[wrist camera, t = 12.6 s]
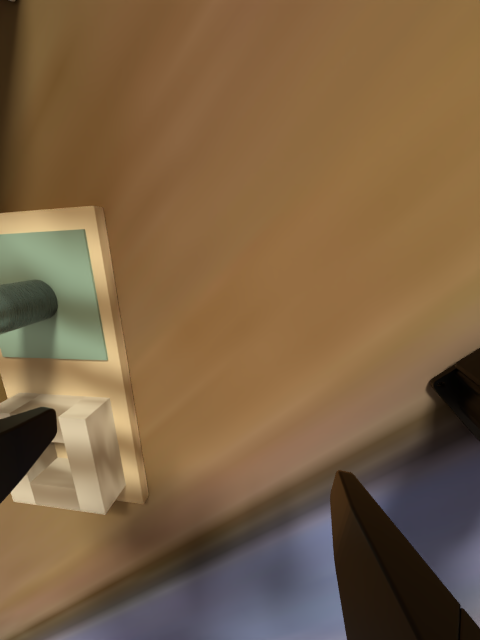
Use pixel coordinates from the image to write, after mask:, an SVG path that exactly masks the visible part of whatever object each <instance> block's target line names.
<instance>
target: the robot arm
mask: <svg viewBox="0 0 480 640" xmlns="http://www.w3.org/2000/svg"><path fill="white" fill-rule="evenodd" d="M440 382H443V383H442V385H440V386H437V385H438V383H440ZM431 386H432V387H433V388H434V390H435V391H436V392H437V393H438V394H439V395H440V396H441V398H442V399H443V400H444V401H445V402H446V403H447V404H448V406H449V407H450V408H451V409H452V410H453V411H454V412H455V414H456V415H457V416H458V417H459V418H460V419H461V420H462V422H463V423H464V424H465V425H466V426H467V427H468V428H469V430H470V431H471V432H472V433H473V434H474V435H475V436H476V438H477V439H478V440H479V441H480V348H479V349H478V350H476V351H474V352H473V353H471V354H470V355H468V356H466V357H465V358H463V359H461V360H460V361H458V362H457V363H456V364H455V365H453V366H452V367H450V368H449V369H447V370H445V371H444V372H442V373H440V374H439V375H437V376H435V377H434V378H433V379H432V380H431ZM56 434H57V416H56V411H55V409H53V408H48V407H38V408H35V409H32V410H28V411H25V412H22V413H19V414H16V415H12V416H9V417H6V418H3V419H0V503H1V502H2V501H3V500H4V499H5V498H6V497H7V496H8V495H9V494H10V492H11V491H12V490H13V489H14V488H15V487H16V486H17V485H18V484H19V482H20V481H21V480H22V479H23V478H24V476H25V475H26V474H27V473H28V471H29V470H30V469H31V467H32V466H33V465H34V464H35V462H36V461H37V460H38V458H39V457H40V456H41V455H42V453H43V452H44V451H45V450H46V448H47V447H48V446H49V444H50V443H51V442H52V441H53V439H54V438H55V436H56ZM330 504H331V519H332V535H333V550H334V561H335V569H336V575H337V581H338V587H339V593H340V600H341V606H342V612H343V618H344V624H345V630H346V636H347V640H480V628H479V627H478V626H477V624H476V623H475V622H474V621H473V620H472V618H471V617H470V616H469V615H468V613H467V612H466V611H465V610H464V609H463V608H461V609H460V604H459V603H458V601H457V600H456V599H455V598H454V596H453V595H452V594H451V593H450V592H449V590H448V589H447V588H446V587H445V585H444V584H443V583H442V582H441V581H440V579H439V578H438V577H437V576H436V574H435V573H434V572H433V571H432V570H431V568H430V567H429V566H428V565H427V563H426V562H425V561H424V560H423V559H422V557H421V556H420V555H419V554H418V552H417V551H416V550H415V549H414V548H413V546H412V545H411V544H410V543H409V541H408V540H407V539H406V538H405V537H404V535H403V534H402V533H401V532H400V530H399V529H398V528H397V527H396V526H395V524H394V523H393V522H392V521H391V519H390V518H389V517H388V516H387V515H386V513H385V512H384V511H383V510H382V508H381V507H380V506H379V505H378V504H377V502H376V501H375V500H374V499H373V497H372V496H371V495H370V494H369V493H368V491H367V490H366V489H365V488H364V486H363V485H362V484H361V483H360V482H359V480H358V479H357V478H356V477H355V475H354V474H352V473H351V472H346V471H342V470H338V471H337V472H336V475H335V479H334V482H333V486H332V489H331V494H330Z"/></svg>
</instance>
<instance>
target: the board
mask: <svg viewBox="0 0 480 640" xmlns="http://www.w3.org/2000/svg"><path fill="white" fill-rule="evenodd" d="M34 279H36V280H41V281H43V282H45V283H47V284H48V285H49V286H50V287H51V288H52V289H53V291H54V292H55V294H56V297H57V301H58V308H57V311H56V313H55V315H54V316H53V317H51V318H50V319H46V320H43V321H40V322H37V323H34V324H31V325H28V326H25V327H22V328H19V329H16V330H13V331H10V332H7V333H4V334H1V335H0V373H1V377H2V380H3V384H4V387H5V391H6V394H7V397H8V399H7V400H5V401H3V402H2V403H0V419H3V418H6V417H9V416H12V415H16V414H19V413H22V412H25V411H28V410H32V409H35V408H38V407H48V408H53V409H55V411H56V416H57V434H56V436H55V438H54V439H53V441H52V442H51V443H50V444H49V446H48V447H47V448H46V450H45V451H44V452H43V453H42V455H41V456H40V457H39V458H38V460H37V461H36V462H35V464H34V465H33V466H32V467H31V469H30V470H29V471H28V473H27V474H26V475H25V476H24V478H23V479H22V480H21V481H20V482H19V484H18V485H17V486H16V487H15V488H14V489H13V490H12V491H11V494H12V498H13V501H14V502H20V503H27V504H34V505H41V506H48V507H55V508H62V509H69V510H76V511H83V512H90V513H97V514H104V515H106V513H107V512H108V510H109V509H110V507H111V506H112V504H113V503H114V501H115V500H116V501H124V502H132V503H139V504H144V503H145V501H146V499H147V497H148V496H149V493H148V487H147V480H146V474H145V468H144V461H143V455H142V449H141V443H140V436H139V430H138V424H137V418H136V411H135V405H134V399H133V393H132V386H131V380H130V374H129V367H128V361H127V355H126V349H125V342H124V336H123V330H122V324H121V317H120V311H119V305H118V299H117V292H116V286H115V280H114V273H113V267H112V261H111V255H110V248H109V242H108V236H107V230H106V223H105V217H104V211H103V207H98V206H85V207H73V208H60V209H47V210H34V211H22V212H9V213H0V285H1V284H8V283H14V282H21V281H27V280H34Z"/></svg>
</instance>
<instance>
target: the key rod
mask: <svg viewBox="0 0 480 640" xmlns="http://www.w3.org/2000/svg"><path fill="white" fill-rule="evenodd" d="M57 308H58V301H57V297H56V294H55V292H54V291H53V289H52V288H51V287H50V286H49V285H48V284H47V283H45V282H43V281H41V280H36V279H34V280H27V281H21V282H14V283H8V284H1V285H0V335H1V334H4V333H7V332H10V331H13V330H16V329H19V328H22V327H25V326H28V325H31V324H34V323H37V322H40V321H43V320H46V319H50V318H51V317H53V316H54V315H55V313H56V311H57Z"/></svg>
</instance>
